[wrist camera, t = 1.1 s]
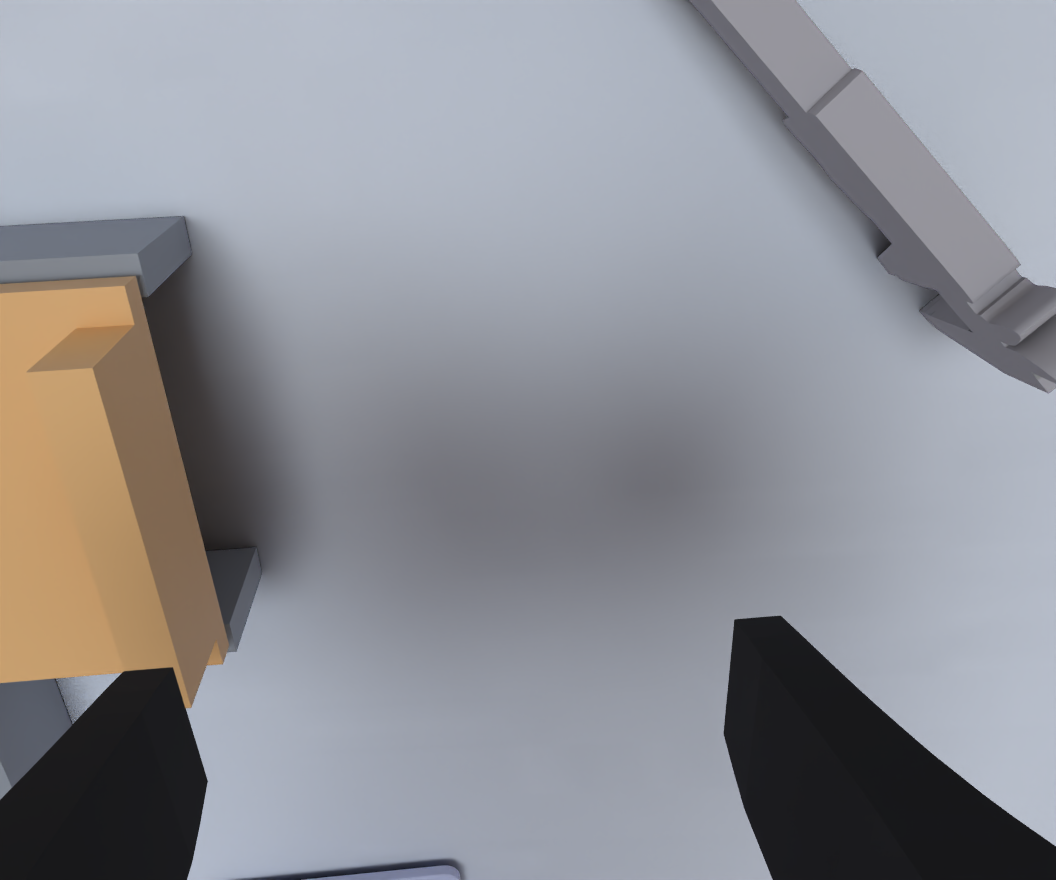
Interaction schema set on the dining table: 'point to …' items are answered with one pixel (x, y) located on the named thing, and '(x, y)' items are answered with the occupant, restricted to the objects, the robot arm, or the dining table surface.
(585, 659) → the dining table surface
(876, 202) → the caliper
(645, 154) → the dining table surface
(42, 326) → the lid
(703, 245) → the dining table surface
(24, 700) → the housing
